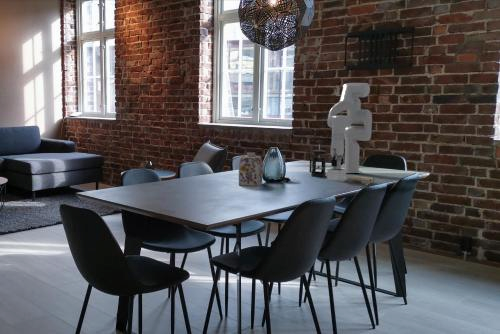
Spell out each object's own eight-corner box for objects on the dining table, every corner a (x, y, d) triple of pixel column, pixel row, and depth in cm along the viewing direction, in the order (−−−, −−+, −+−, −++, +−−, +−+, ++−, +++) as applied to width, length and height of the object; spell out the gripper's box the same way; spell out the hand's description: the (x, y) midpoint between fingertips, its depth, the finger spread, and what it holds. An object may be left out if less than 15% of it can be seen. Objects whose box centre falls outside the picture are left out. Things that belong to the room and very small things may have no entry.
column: (334, 178, 309) (335, 154, 307) (342, 179, 306) (343, 154, 305) (331, 179, 305) (331, 155, 303) (339, 180, 302) (339, 155, 300)
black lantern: (329, 178, 318) (331, 141, 315) (321, 179, 311) (322, 141, 308) (314, 176, 326) (315, 140, 323) (305, 177, 319) (306, 140, 316)
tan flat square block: (354, 181, 306) (354, 176, 306) (374, 182, 300) (374, 177, 299) (347, 183, 296) (347, 178, 295) (367, 185, 290) (367, 180, 289)
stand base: (331, 178, 314) (331, 167, 313) (349, 180, 308) (350, 169, 307) (323, 181, 304) (323, 169, 303) (342, 183, 297) (342, 171, 297)
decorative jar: (258, 186, 280) (259, 154, 278) (238, 185, 282) (238, 153, 280) (262, 183, 292) (263, 152, 289) (242, 182, 294) (243, 151, 292)
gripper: (337, 135, 312) (336, 163, 314) (326, 137, 297) (325, 166, 299) (349, 136, 308) (348, 164, 310) (338, 137, 293) (337, 167, 295)
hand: (337, 165), depth 305 cm, fingers open, 9 cm apart
